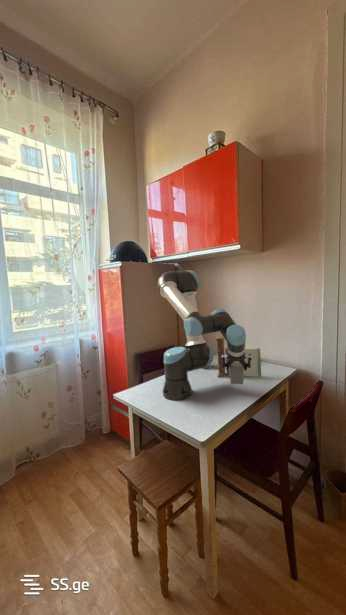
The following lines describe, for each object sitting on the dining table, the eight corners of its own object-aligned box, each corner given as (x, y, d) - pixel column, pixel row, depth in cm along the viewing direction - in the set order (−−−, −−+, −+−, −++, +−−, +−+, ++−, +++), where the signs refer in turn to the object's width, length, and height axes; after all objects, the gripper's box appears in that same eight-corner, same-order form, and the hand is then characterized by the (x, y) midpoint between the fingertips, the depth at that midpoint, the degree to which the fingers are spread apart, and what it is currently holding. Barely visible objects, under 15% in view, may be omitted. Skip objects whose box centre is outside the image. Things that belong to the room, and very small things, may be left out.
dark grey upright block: (230, 383, 123) (230, 366, 121) (230, 379, 128) (230, 362, 127) (243, 384, 121) (242, 366, 120) (242, 379, 127) (242, 362, 126)
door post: (217, 377, 146) (215, 338, 144) (218, 374, 151) (216, 336, 149) (226, 377, 145) (224, 338, 143) (226, 374, 150) (224, 336, 147)
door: (226, 375, 146) (225, 348, 145) (226, 374, 148) (225, 348, 146) (261, 375, 142) (260, 348, 140) (260, 374, 143) (259, 348, 142)
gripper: (214, 357, 110) (217, 377, 128) (259, 358, 106) (256, 379, 123) (214, 342, 115) (217, 364, 132) (258, 342, 110) (255, 365, 128)
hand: (236, 371), depth 128 cm, fingers closed on dark grey upright block, 6 cm apart
